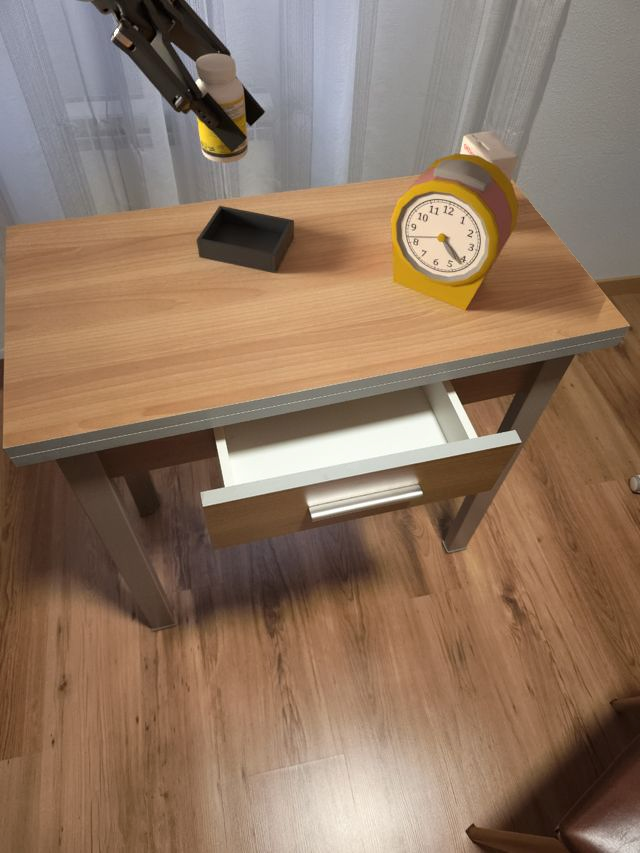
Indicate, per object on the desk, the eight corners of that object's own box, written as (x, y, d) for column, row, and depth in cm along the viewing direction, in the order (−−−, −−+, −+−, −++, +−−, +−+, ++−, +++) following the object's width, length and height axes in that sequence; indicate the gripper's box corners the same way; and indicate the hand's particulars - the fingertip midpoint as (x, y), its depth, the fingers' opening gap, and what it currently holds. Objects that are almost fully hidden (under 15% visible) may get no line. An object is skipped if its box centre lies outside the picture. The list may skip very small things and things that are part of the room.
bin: (199, 257, 86) (196, 239, 83) (221, 222, 91) (219, 205, 89) (275, 273, 84) (275, 256, 82) (294, 237, 89) (294, 219, 87)
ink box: (498, 226, 93) (521, 156, 83) (471, 232, 92) (491, 162, 82) (472, 197, 97) (491, 128, 88) (446, 203, 96) (462, 133, 87)
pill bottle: (204, 139, 78) (192, 49, 69) (249, 141, 78) (243, 51, 69) (198, 164, 74) (185, 71, 65) (246, 165, 74) (239, 74, 65)
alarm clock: (380, 280, 84) (398, 160, 69) (404, 251, 88) (425, 132, 73) (474, 317, 80) (515, 199, 65) (494, 285, 84) (536, 166, 69)
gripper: (121, -43, 70) (255, 115, 81) (35, 13, 59) (203, 187, 70) (152, -96, 65) (290, 80, 76) (64, -45, 54) (240, 152, 65)
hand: (248, 131), depth 73 cm, fingers closed on pill bottle, 6 cm apart
